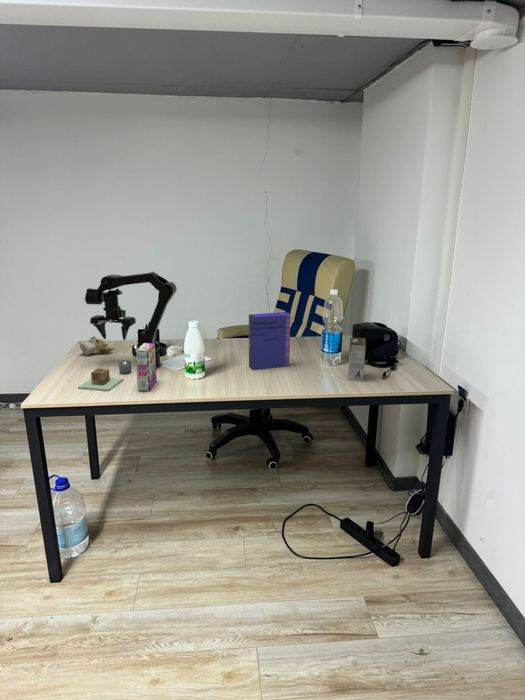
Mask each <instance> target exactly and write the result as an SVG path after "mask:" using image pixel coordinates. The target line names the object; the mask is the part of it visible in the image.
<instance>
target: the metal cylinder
mask: <svg viewBox="0 0 525 700" xmlns="http://www.w3.org/2000/svg"><path fill="white" fill-rule="evenodd" d="M132 371H133V370H132V363H131V360H130V359H122V360H119V361H118V372H119V375H122V376H123V375H130V374H132Z"/></svg>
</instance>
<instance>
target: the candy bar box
mask: <svg viewBox="0 0 525 700" xmlns="http://www.w3.org/2000/svg"><path fill="white" fill-rule="evenodd" d="M135 364H136V377H137V378H136V379H137V391H138V392H150V391H151V390H152V389H153V387H154V386H155V384H156V383H157V378H158V377H157V368H156V357H155V343H143V344H142V345H141V346H140V347H138V348H137V349H135Z"/></svg>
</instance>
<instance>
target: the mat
mask: <svg viewBox="0 0 525 700" xmlns="http://www.w3.org/2000/svg"><path fill="white" fill-rule="evenodd" d="M123 381H124V378H120V377H119V378H117V377H110V381H109V382H108V383H106V384H105V385H93V384H92V378H90V379H88V380H86V381H85V382H83V383H82V384H80V385H79V386H77V389H78V390H88V391H101V392H102V391H103V392H110V391H111V390H113V389H114V388H116V386H117V387H118V386H119V384H121V383H122V382H123Z"/></svg>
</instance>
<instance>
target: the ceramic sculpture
mask: <svg viewBox="0 0 525 700" xmlns="http://www.w3.org/2000/svg"><path fill="white" fill-rule="evenodd" d="M78 342H79V347H80V350H81V351H82V353H83V355H84V356H89V355H90V354H95V355H97V354H101V353H103V354H107V353H110V352H112V351H114V350H115V348H113V347H112V348H111V347H109V346H108V345H109V344H108V343H105V340H104V339H103V338H102V339H101V338H96V336H93V337H91V338H89V340H88V341H80V340H79V341H78Z"/></svg>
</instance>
